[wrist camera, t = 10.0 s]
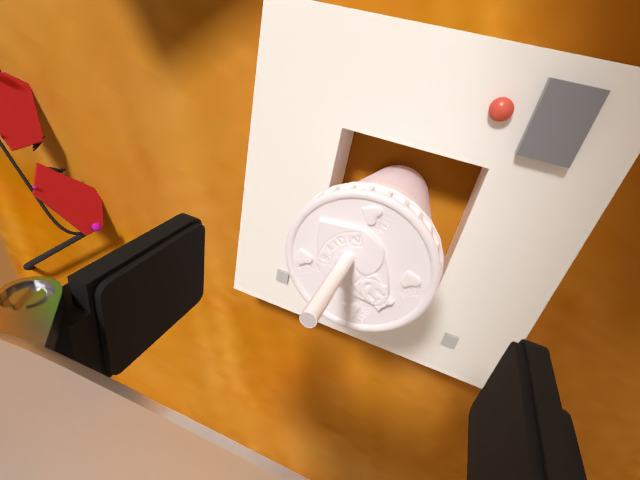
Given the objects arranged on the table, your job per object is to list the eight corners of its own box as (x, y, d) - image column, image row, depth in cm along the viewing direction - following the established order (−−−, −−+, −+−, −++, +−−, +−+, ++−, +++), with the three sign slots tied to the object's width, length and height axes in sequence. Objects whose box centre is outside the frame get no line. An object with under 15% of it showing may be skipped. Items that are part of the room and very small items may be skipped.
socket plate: (289, 0, 21) (258, -12, 18) (653, 74, 17) (694, 76, 14) (254, 268, 29) (229, 292, 26) (490, 360, 25) (492, 400, 22)
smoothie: (412, 118, 21) (336, 187, 9) (474, 210, 22) (481, 385, 10) (327, 181, 24) (189, 293, 12) (385, 259, 25) (307, 435, 13)
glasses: (126, 219, 33) (75, 242, 28) (36, 268, 40) (-16, 292, 36) (28, 62, 29) (-47, 62, 25) (-50, 148, 37) (-118, 159, 33)
